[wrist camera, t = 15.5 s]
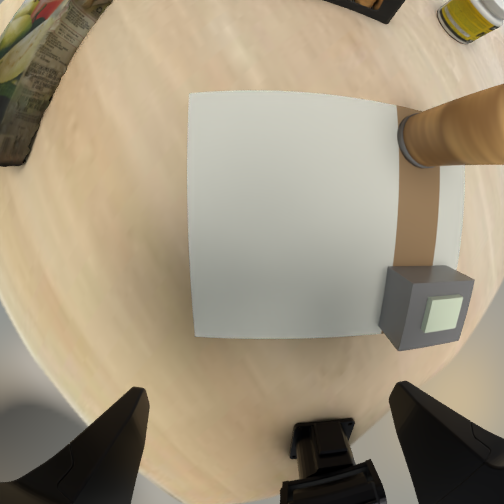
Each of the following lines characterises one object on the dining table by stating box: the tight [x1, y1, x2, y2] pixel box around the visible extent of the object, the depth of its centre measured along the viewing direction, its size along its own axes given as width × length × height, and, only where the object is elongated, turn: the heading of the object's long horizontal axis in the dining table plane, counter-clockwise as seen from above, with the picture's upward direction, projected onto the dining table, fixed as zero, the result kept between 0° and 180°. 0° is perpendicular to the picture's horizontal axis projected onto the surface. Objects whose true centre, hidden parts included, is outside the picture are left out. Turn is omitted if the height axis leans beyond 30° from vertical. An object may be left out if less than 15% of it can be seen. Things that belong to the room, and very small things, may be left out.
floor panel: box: [187, 90, 465, 339], centre depth 19 cm, size 18×22×1 cm
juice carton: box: [0, 0, 112, 167], centre depth 14 cm, size 20×10×6 cm, turn 153°
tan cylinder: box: [397, 84, 504, 168], centre depth 11 cm, size 4×4×13 cm
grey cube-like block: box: [378, 265, 474, 351], centre depth 18 cm, size 5×6×5 cm
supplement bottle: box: [438, 0, 504, 44], centre depth 11 cm, size 5×5×8 cm
